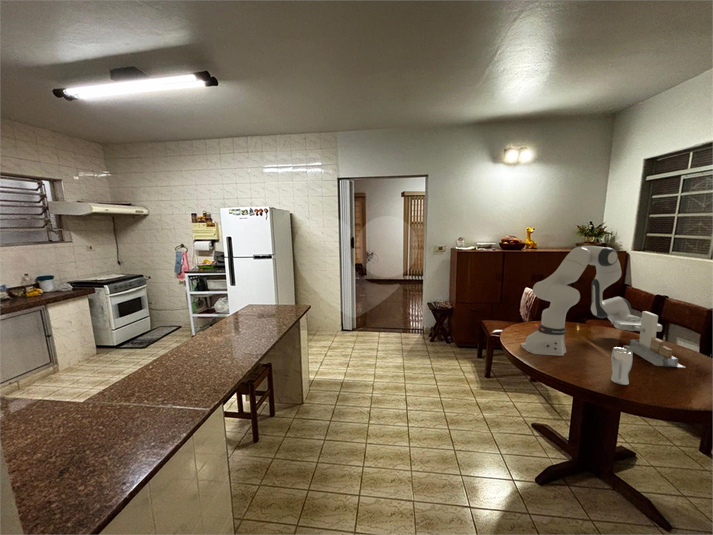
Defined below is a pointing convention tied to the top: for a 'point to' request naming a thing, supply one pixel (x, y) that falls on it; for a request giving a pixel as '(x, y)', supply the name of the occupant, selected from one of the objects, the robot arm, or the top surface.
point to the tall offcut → (656, 344)
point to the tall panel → (648, 328)
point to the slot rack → (652, 355)
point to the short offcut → (665, 351)
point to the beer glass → (621, 365)
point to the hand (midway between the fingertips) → (647, 330)
